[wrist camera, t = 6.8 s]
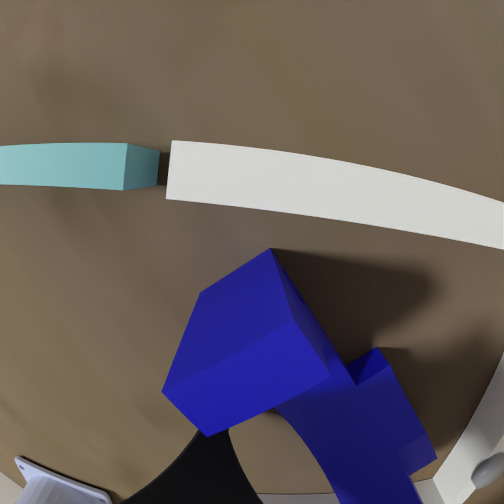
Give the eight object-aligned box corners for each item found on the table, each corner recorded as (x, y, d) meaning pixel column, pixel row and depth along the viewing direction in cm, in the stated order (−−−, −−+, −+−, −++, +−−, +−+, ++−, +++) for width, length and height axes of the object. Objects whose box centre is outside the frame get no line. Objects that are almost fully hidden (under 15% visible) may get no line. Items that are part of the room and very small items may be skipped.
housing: (443, 485, 15) (460, 519, 12) (181, 496, 15) (171, 544, 11) (557, 227, 11) (606, 242, 7) (193, 149, 11) (163, 137, 7)
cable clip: (414, 421, 13) (462, 501, 8) (340, 463, 14) (366, 551, 8) (306, 224, 11) (366, 272, 5) (200, 292, 12) (161, 391, 6)
